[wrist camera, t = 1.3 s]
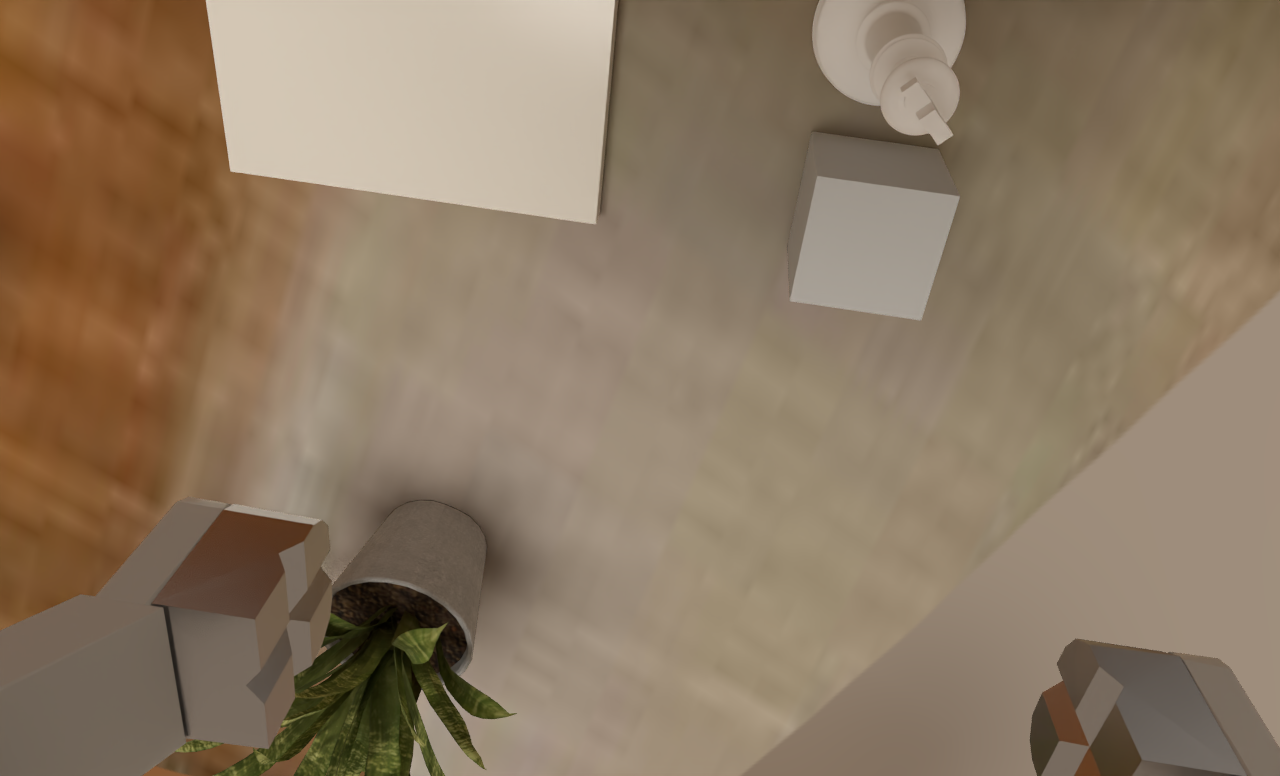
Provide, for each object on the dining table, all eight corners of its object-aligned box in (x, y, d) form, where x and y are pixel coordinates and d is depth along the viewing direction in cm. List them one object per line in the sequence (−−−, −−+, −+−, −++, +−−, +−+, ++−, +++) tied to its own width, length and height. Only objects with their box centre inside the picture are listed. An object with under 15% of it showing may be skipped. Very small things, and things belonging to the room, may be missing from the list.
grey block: (811, 130, 33) (817, 175, 30) (938, 148, 33) (960, 196, 29) (787, 245, 36) (789, 301, 32) (904, 262, 36) (921, 320, 32)
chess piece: (864, 131, 33) (897, 252, 25) (782, 15, 31) (788, 103, 23) (993, 40, 31) (1076, 139, 23) (914, -89, 29) (972, -33, 21)
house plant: (213, 503, 47) (-14, 803, 33) (388, 358, 41) (199, 652, 27) (425, 665, 52) (304, 984, 38) (609, 557, 46) (542, 890, 32)
